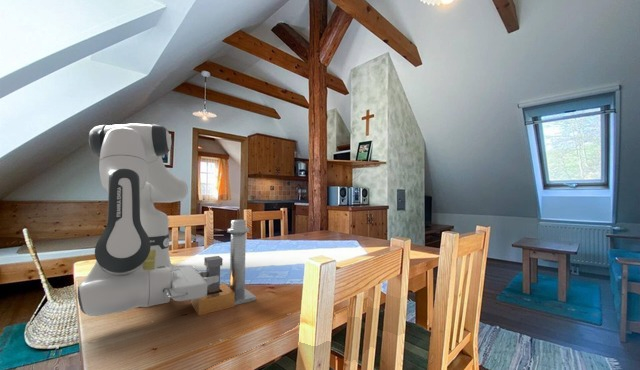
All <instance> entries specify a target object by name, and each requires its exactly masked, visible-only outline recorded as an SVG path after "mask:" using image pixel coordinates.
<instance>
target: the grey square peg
mask: <svg viewBox="0 0 640 370" xmlns="http://www.w3.org/2000/svg"><path fill="white" fill-rule="evenodd" d="M223 259H224V258H222V257H221V256H219V255H215V256H207V257H204V262H203V263H204V264H203V265H205V267H206V278H207V277H211V275H218V276H219V282H216V283H212V284H210V285H208V286H207V295H210V294H215V293H219V292H220V284H221V283H220V282H221V280H220V279H221V267H222V266H223Z"/></svg>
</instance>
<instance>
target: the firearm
mask: <svg viewBox="0 0 640 370" xmlns="http://www.w3.org/2000/svg"><path fill="white" fill-rule="evenodd" d="M155 257H156V250H150V253H149V255H148V257H147V258H146V260H145V261H144V263H143V270H153V269H155Z"/></svg>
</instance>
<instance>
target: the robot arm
mask: <svg viewBox="0 0 640 370" xmlns="http://www.w3.org/2000/svg"><path fill="white" fill-rule="evenodd" d="M171 137H172V136H171V134H170V133H169V131H168V129H167V128H166V126H164V125H160V124H155V123H152V124H148V123H147V124H145V123H126V124H125V123H124V124H122V123H121V124H112V125H111V124H110V125H107V124H101V125H96V126H94V127H93V128H92V129H90V131H89V133H88V143H89V147H90V149H91V151H92V153H93V154H94V155H96V156H97V157H99V162H98V163H99V165H98V167H99V170H98V171H99V178H100V182H101V183H100V184H101V186H102V188H103V189H104V190H106V192H107V196H108V198H107V218H106V219H107V220H106V227H105V228H104V231H103V232H102V234H101V235H100V236H99V237H98V238H99V239H98V240H97V242H96V245H95V246H94V257H95V260H96V261H95V263H94V265H93V267H92V268H91V269H90V272H89V273H88V274H87V276H86V277H85V278H84V279H83V280H82V282H80V283H79V284H78V286H77V300H78V305H79V308H80V310H81V312H82V313H83V314H85V315H87V316H89V317H98V316H99V317H100V316H105V315H106V316H107V315H108V316H109V315H114V314H119V313H122V312H123V313H125V312H127V311H129V310H132V309H135V308H139V307H140V308H144V307H145V308H148V307H152V306H156V305H157V306H158V305H162V304H166V303H169V302H170V300H171V299H172V300H173V301H176V302H185V301H191V300H192V299H198V298H203V297H205V296H206V295H207V286H208V285H210V284H212V283H216V282H219V276H218V275H211V277H207V278H206V271H203V270H202V271H201V270H199V271H197V270H196V269H195V267H194V266H193V265H189V264H188V265H187V264H185V265H184V264H183V265H173V264H172V263H171V262H172V261H171V257H170V252H169V246H170V233H169V219H170V218H169V217H168V215H167V213H165V212H163V211H161V210H158V209H157V208H156V207H155V205H154V204H155V203H176V202H180V201H181V202H182V201H184V199H185V198H186V197H187V195H188V192H189V186H188V184H187V182H186V181H185V180H184V178H180V177H178V176H176V175H174V173H172V172H171V171H170V170H168V169H167V167H166V166H165V163H164V161H163V158H162V156H165V155H167V154H168V153H169V152H170V150H171V147H172V138H171ZM150 250H156V257H155V269H153V270H143V263H144V261H145V260H146V258H147V257H148V255H149V253H150Z"/></svg>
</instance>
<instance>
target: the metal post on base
mask: <svg viewBox="0 0 640 370" xmlns="http://www.w3.org/2000/svg"><path fill="white" fill-rule="evenodd" d="M246 225H247V220H246V219H231V220H230V228H227V232H226V233H228V234H230V247H229V248H230V249H229V250H230V251H229V252H230V253H229V254H230V258H229V259H230V260H229V261H230V263H229V270H230V271H229V286H228V285H227V284H226V283H225V282H223V283H220V292H219V293H215V294H210V295H206V296H205V297H203V298H198V299H192V300H190V301H191V305H192V306H193V308H194V310H195V312H196V314H197V315H198V316H202V315H208V314H211V313H215V312H219V311H223V310H226V309H230V308H233V307H235V306H237V305H242V304H246V303H249V302H252V301H256V300H257V296H256V295H254V294H253V293H252V292H251V291H249V290H248V289H247V288H246V239H247V238H246V237H247V236H246V233H249V232H250V228H249V227H247V226H246Z"/></svg>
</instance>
